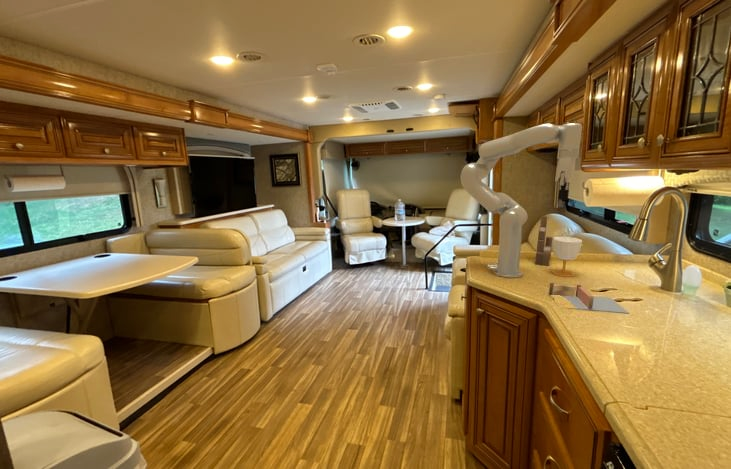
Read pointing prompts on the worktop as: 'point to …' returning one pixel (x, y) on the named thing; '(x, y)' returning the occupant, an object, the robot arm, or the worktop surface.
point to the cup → (566, 252)
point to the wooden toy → (543, 245)
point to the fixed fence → (563, 290)
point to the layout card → (597, 304)
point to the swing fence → (585, 297)
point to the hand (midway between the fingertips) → (563, 199)
